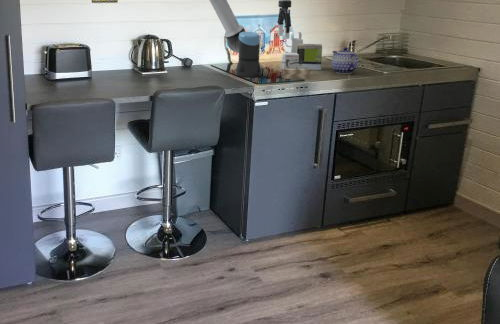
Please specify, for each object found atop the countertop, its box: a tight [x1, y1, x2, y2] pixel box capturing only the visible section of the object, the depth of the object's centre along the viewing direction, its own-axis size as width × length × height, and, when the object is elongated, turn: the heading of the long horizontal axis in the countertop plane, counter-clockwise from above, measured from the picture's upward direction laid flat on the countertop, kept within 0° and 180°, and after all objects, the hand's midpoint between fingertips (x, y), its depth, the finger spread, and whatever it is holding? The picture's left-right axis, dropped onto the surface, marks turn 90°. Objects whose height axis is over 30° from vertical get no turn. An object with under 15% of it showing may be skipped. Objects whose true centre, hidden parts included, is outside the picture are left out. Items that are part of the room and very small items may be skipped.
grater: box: [284, 31, 304, 53], centre depth 365 cm, size 10×10×20 cm
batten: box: [281, 69, 311, 80], centre depth 320 cm, size 15×3×5 cm, turn 103°
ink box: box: [281, 52, 299, 75], centre depth 332 cm, size 9×5×12 cm, turn 105°
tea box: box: [297, 43, 323, 71], centre depth 350 cm, size 15×10×15 cm, turn 84°
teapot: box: [331, 46, 359, 75], centre depth 340 cm, size 25×15×15 cm, turn 24°
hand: (283, 37), depth 343 cm, fingers open, 13 cm apart
